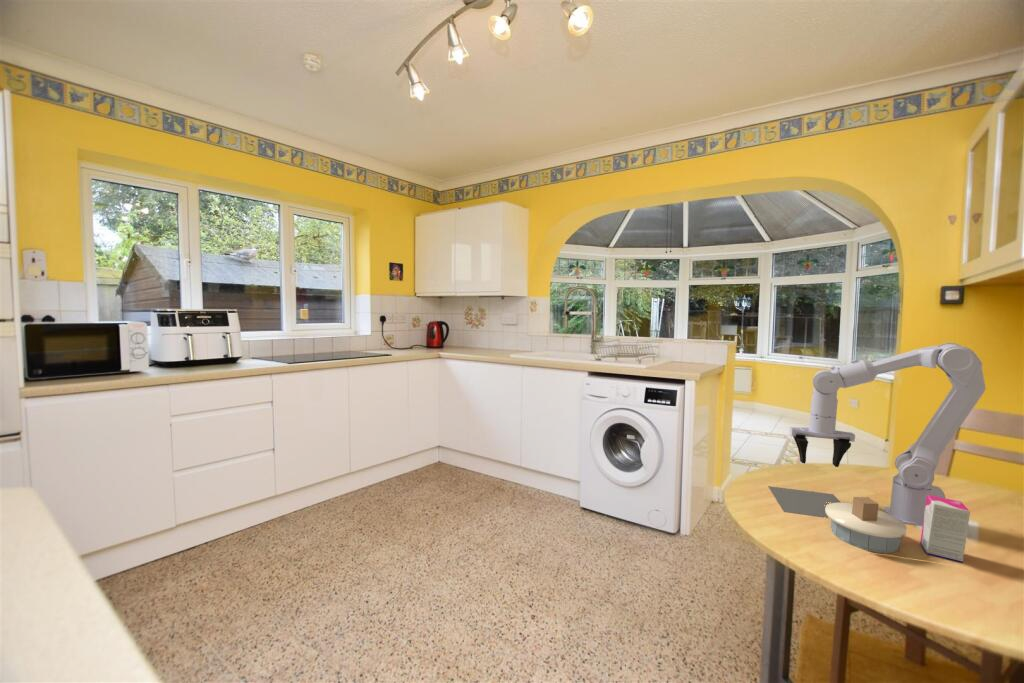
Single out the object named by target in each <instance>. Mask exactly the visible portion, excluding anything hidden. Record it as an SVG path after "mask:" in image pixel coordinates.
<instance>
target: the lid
mask: <svg viewBox="0 0 1024 683" xmlns="http://www.w3.org/2000/svg"><path fill="white" fill-rule="evenodd" d="M825 513H826V515H827V516H828V517H829V518H828V519H829V520H830V521H831V520H833V521H834V522H836V523H837V524H839V525H841V526H843V527H846V528H848V529H851V530H854V531H856V532H860V533H863V534H867V535H872V536H877V537H884V538H898V537H901V538H903V537H904V536H905V535H906V534H907V530H908V529H907V526H906V523H903V522H902V521H900V520H899V519H897V518H896V517H894V516H892V515H890V514H888V513H887V512H886V511H884V510H883V511H882V510H880V509H879V503H878V502H876V501H874V500H873V499H872V498H869V497H868V496H866V497H865V496H853V497H852V502H841V503H831V504H828V505H827V506H826V507H825Z"/></svg>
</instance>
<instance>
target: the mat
mask: <svg viewBox="0 0 1024 683" xmlns="http://www.w3.org/2000/svg"><path fill="white" fill-rule="evenodd" d="M768 488H769V490H770V492H771V494H772V495H773V497H774V499H775V500H776V502H777V503H778V505H779V506H780V508H781V509H782V511H783V513H789V514H795V515H796V514H797V515H803V516H804V515H805V516H810V517H811V516H812V517H818V518H824V517H826V518H825V519H829V518H828V516H827V515H826V513H825V507H826V505H827V504H829V503H830V502H831V503H842V502H841V501H840V500H839V499H838V498H837V497H836V496H835V494H834V493H827V492H821V491H820V492H819V491H809V490H803V489H795V488H794V489H793V488H788V487H778V486H772V485H769V486H768ZM826 502H827V503H826ZM828 502H829V503H828ZM831 503H830V504H831ZM824 505H825V506H824Z"/></svg>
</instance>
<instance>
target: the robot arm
mask: <svg viewBox="0 0 1024 683" xmlns="http://www.w3.org/2000/svg"><path fill="white" fill-rule="evenodd" d="M850 361H851V362H850V363H845V364H843V365H839V366H835V365H833V366H830V367H829V369H821V370H819V371H817V372H816V373H815V375H813V378H812V385H813V389H812V396H811V400H810V401H811V402H810V403H811V404H810V413H809V414H810V415H809V426H808V427H794V426H793V427H792V426H790V427H789V435H790V436H791V437H793V439H794V442H795V444H796V448H797V450H798V454H799V455H798V456H799V460H800V462H801V464H806V461H807V450H808V445H809V441H808V440H807V438H816V439H817V438H818V439H829V440H830V439H831V440H833V442H832V443H833V454H832V465H833V466H834V467H835V468H839V466H840V463H841V461H842V459H843V457H844V456H845V454H846V452H847V451H848V450H849V449H850V448H851V447H852V443H851V442H855V439H856V435H855V433H853V432H852V431H851V432H850V431H849V432H848V431H842V430H836V427H837V426H836V424H837V410H838V401H839V400H838V397H837V396H838V391H839V390H840V388H842V389H847V388H850V387H855V386H859V385H863V384H867V383H871V382H874V381H875V378H876V377H877V376H878V375H881V374H886V373H891V372H895V371H899V370H905V369H908V368H912V367H917V366H920V367H924V368H931V369H937V367H939V369H941V371H943V372H944V373H945V374H946V375H945V376H946V377H947V379H948V380H949V383H950V384H951V385H952V387H951V389H950V390H949V392H947V395H946V396H945V397H944V399H943V401H942V402H941V403H940V405H939V407H938V408H937V410H936V411H935V412H934V414H933V415H932V417H931V419H930V420H929V421H928V423H927V424H926V426H925V427H924V429H923V430H922V432H921V433H920V435H919V436H918V438H917V440H915V442H914V443H912V444H910V445H909V446H908V449H906V450H905V451H904V452H902V453H900V454H898V455H897V456H896V458H895V459H894V465H895V469H896V470H897V471H898V472H897V474H895V475H894V476H893V477H892V485H891V495H890V505H889V506H882V507H881V509H882V510H883V512H885V513H887V514H890V515H892V516H894V517H896V518H897V519H899V520H900V521H902V522H903V523H904V524H905V525H906V524H907V525H914V526H915V525H916V526H921V525H923V520H924V512H925V505H926V498H927V495H931V496H936V497H941V498H946V495H945V492H944V491H943V489H942V488H941V487H939V486H937V485H933V483H934V481H935V471H936V469H937V467H938V465H939V462H940V459H941V458H940V457H941V455H942V453H943V452H944V451H945V449H946V447H947V446H948V445H949V444H950V443H951V441H952V439H953V438H954V436H955V435H956V433H957V432H958V431H959V429H960V427H961V426H962V424H964V422H965V421H966V419H967V417H968V416H969V414H970V413H971V411H973V409H974V408H975V406H976V404H977V403H978V401H980V399H981V398H982V396H983V395H984V393H985V390H986V383H985V378H984V372H983V361H982V360H981V359H980V358H979V357H978V355H977V354H976V353H975V352H974V350H972V349H970V348H968V347H966V346H962V345H960V344H957V343H954V342H946V343H944V342H943V343H941V344H939V345H930V346H929V345H928V346H924V347H920V348H916V349H912V350H910V351H905V352H902V353H899V354H896V355H893V356H889V357H886V358H882V359H879V360H877V361H873V362H870V361H868V360H865V359H861V360H858V359H857V358H855V359H852V360H850Z"/></svg>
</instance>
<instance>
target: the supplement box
mask: <svg viewBox="0 0 1024 683" xmlns="http://www.w3.org/2000/svg"><path fill="white" fill-rule="evenodd" d="M970 516H971V511H970V510H969V509H968V508H967V506H965V504H964V503H963V502H962V501H960V500H956V499H950V498H946V497H945V498H941V497H936V496H931V495H927V498H926V505H925V512H924V520H923V526H921V534H920V541H919V543H920V546H921V547H922V550H923V551H924V553H925V554H926V555H927V556H931V557H932V556H933V557H935V558H940V559H944V560H948V561H952V562H957V563H959V564H963V563H964V557H965V549H966V544H967V536H968V530H969V522H970Z"/></svg>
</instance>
